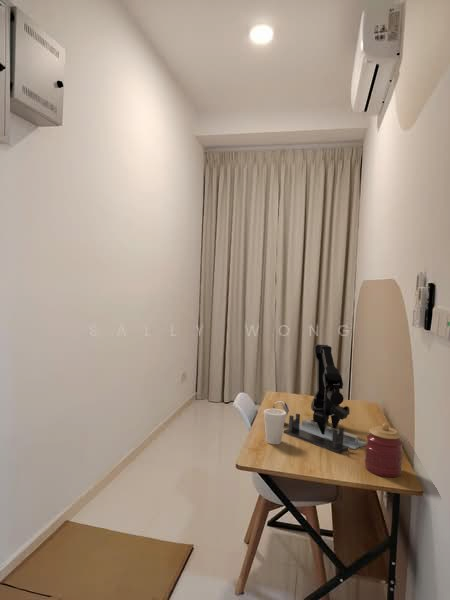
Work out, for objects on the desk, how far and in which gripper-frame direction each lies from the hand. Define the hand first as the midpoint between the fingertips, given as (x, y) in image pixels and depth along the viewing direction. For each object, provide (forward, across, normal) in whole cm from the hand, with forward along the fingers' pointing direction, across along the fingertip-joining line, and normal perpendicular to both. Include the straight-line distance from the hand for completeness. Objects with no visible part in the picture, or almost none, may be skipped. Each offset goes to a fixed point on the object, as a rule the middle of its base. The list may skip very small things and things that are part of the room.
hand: (328, 432), depth 185 cm
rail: (+1, 0, 0) cm, 1 cm away
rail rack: (+2, -11, 0) cm, 11 cm away
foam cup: (+2, -27, +10) cm, 29 cm away
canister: (+2, -14, -33) cm, 36 cm away
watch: (+2, -6, +24) cm, 25 cm away
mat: (+2, 0, 0) cm, 2 cm away
